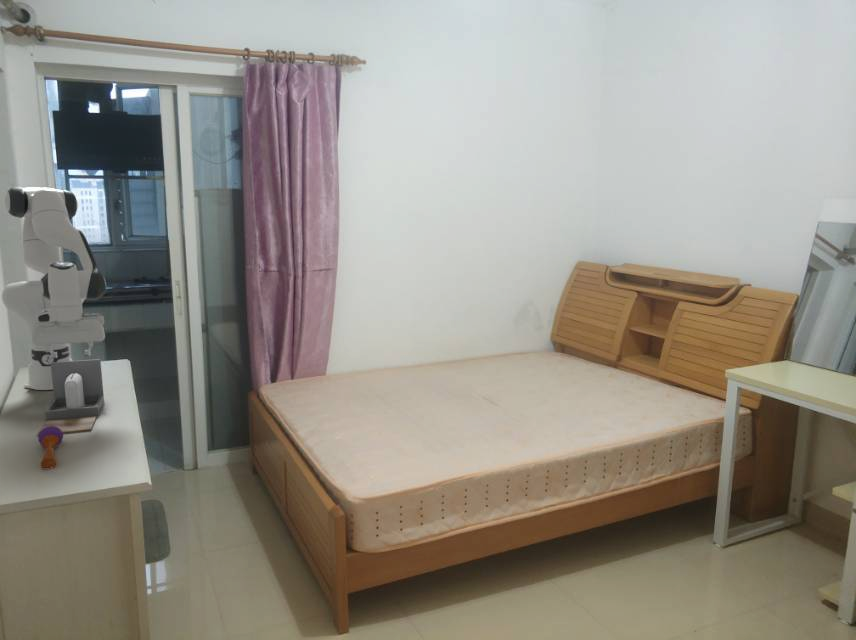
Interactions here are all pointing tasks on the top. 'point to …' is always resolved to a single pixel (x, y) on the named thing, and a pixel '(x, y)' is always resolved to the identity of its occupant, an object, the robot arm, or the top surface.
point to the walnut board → (71, 424)
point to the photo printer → (74, 391)
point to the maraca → (50, 444)
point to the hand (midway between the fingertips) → (71, 356)
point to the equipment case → (91, 388)
